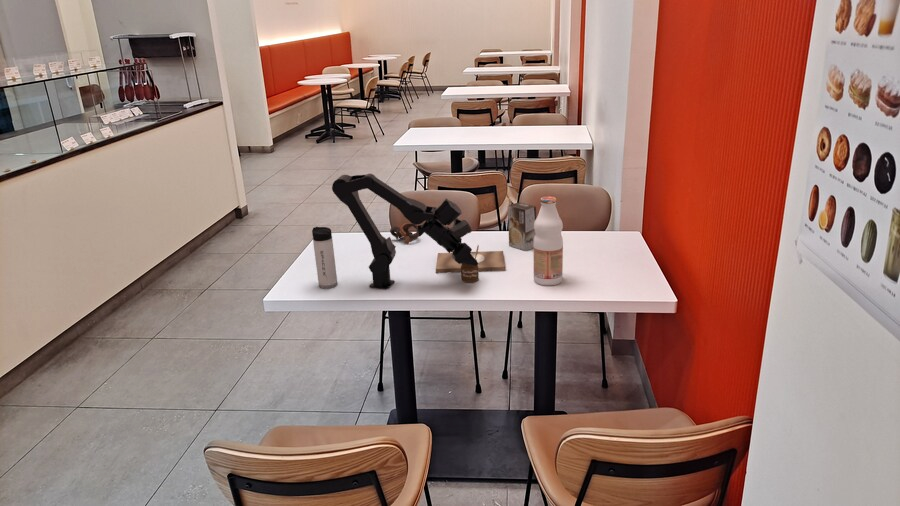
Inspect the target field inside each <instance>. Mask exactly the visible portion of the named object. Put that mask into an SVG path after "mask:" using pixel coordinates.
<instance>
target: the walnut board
mask: <svg viewBox="0 0 900 506" xmlns="http://www.w3.org/2000/svg"><path fill="white" fill-rule="evenodd" d="M452 253H453V252H450V253H449V252H438V253H437V259H436V263H435V264H436V266H435V273H436V274H447V272H451V273H454V274H455V273H461V265H462V264H459V263H457V262H456V261H455V260H454V259H453V258H452ZM471 255H472V256H473V257H474V258H475V255H476V251H471ZM476 260H477V262H478V271H479V272H481V273H483V272H484V273H485V272H505V271H506V262H505V255H504V250H493V251H492V250H491V251H490V250H489V251H488V250H487V251H478V253H477V256H476ZM451 273H450V274H451Z"/></svg>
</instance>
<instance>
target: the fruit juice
mask: <svg viewBox="0 0 900 506" xmlns="http://www.w3.org/2000/svg"><path fill="white" fill-rule="evenodd" d="M540 205H541V206H540V209H539V211H538V214H537V215H536V220H535V222H534V230H535V237H534V244H533V246H534V248H533V281H534V283H536V284H538V285H540V286H555V285H556V286H557V285H559V284H560V283H562V281H563V269H564V268H563V267H564V266H563V264H564V263H563V262H564V261H563V260H564V254H563V253H564V241H563V236H562V231H563V227H564V224H563V221H562V219H561V217H560V215H559V212H558V209H557V206H556V205H557V198H556V197H555V196H542V197H541V198H540Z"/></svg>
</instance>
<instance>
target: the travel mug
mask: <svg viewBox="0 0 900 506" xmlns="http://www.w3.org/2000/svg"><path fill="white" fill-rule="evenodd" d="M311 233H312V235H311V236H312V241H313V242H312V243H313V244H312V245H313V251H314V256H315V257H314V258H315V260H314V261H315V265H316V275H317V282H318V287H319V288H321V289H332V288H334V287H337V285H338V275H337V266H336V259H335V257H336V256H335V248H334V242H333V240H334V239H333V235H332V234H333V233H332V229H331V228H329V227H326V226H314V227H313V228H312V230H311Z"/></svg>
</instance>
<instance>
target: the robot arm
mask: <svg viewBox="0 0 900 506" xmlns="http://www.w3.org/2000/svg"><path fill="white" fill-rule="evenodd" d="M331 185H332V186H331V190H332V192H333V194H334V195H335V196H336V197H337V198H338V200H339V201H340V202H341V203H343V204H344V205H345V206H346V207H348V209H349V211H350V212H351V214H352V216H353V217H354V219H355V221H356V222H357V224H358V226H359V227H360V229H361V231H362V232H363V234H364V236H365V237H366V239H367V241H368V243H369V244H370V249H371V254H372V257H373V260H371V262H370V264H369V265H368V268H369V271H370V272H371V273H372V274H371V275H372V276H371V277H372V283H370V284H369V288H374V289H383V290H387V289H388V288H390V287H391V286H393V284H394V283H395V282H396V280H393V279H391V271H390V265H391V264H392V262H393V261H394V258H395V257H396V254H397V251H396V247H397V246H396V245H395V244H394V243H393V241H392V238H391V236H389V237H388V236H387V238H386V237H384V236H383V235H382V234H381V232H380V230H379V229H378V227H377V225H376V224H375V222H374V221H373V219H372V216H370V214H369V212H368V210H367V209H366V206H365V205H364V204H363V202H362V200H361V199H360V193H359V191H362V190H367V189H368V190H369V191H371V192H372V193H374V194H375V195H377V196H378V197H380V198H381V199H383V200H384V201H386V202H387V203H388V204H391V206H394V207H395V208H396V209H397V210H399V212H400V213H401V214H402V215H403V217H404V218H406V219H407V220H408V221H409V223H412V224H415V225H417V229H418V236H419V237H421V236H422V235H423V234H426V235H427V236H428V237H429V238H431V239H432V240H433V241H435V242H436V243H437V245H439V246H440V247H442V248H443V249H445V250H446V253H452V258H453V259H454V260H455V261H456V262H457V263H459V264H461V263H465V264H470V265H474V266H477V265H478V262H477V261H476V260H475V259H474V257H473V256H472V255H471V252H473V249H472V248H471V246H469V244H467V243H466V242H462V239H463V237H464V236H466V235H468V234H470V233H472V232H473V230H472V229H473V228H471V225H470V224H469V222H468V221H467V220H466V219H462V220H461V219H459V216H461V215H462V213H463V212H462V210H461V208H460V207H459V206H458V204H456V203H455V202H453V201H451V200H450V199H448V198H444V199H443V201H442V202H441V203H440V205H438V206H437V207H436V206H431V205H429V206H428V205H427V204H425V203H423V202H420V201H419V200H416V199H414V198H409V197H407V196H406V195H403V194H402V193H400V192H399V191H397V190H396V189H394V188H393V187H392V186H390V185H389V184H387V183H385V182H384V181H382V180H381V179H379V178H378V177H377V176H376V175H375V174H373V173H367V174H355V175H349V174H343V175H340V176H338V178H336V180H334V182H332V184H331ZM452 223H453V225H452V227H449V226H450V225H451V224H452ZM417 229H416V230H417ZM419 237H418V238H419Z"/></svg>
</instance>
